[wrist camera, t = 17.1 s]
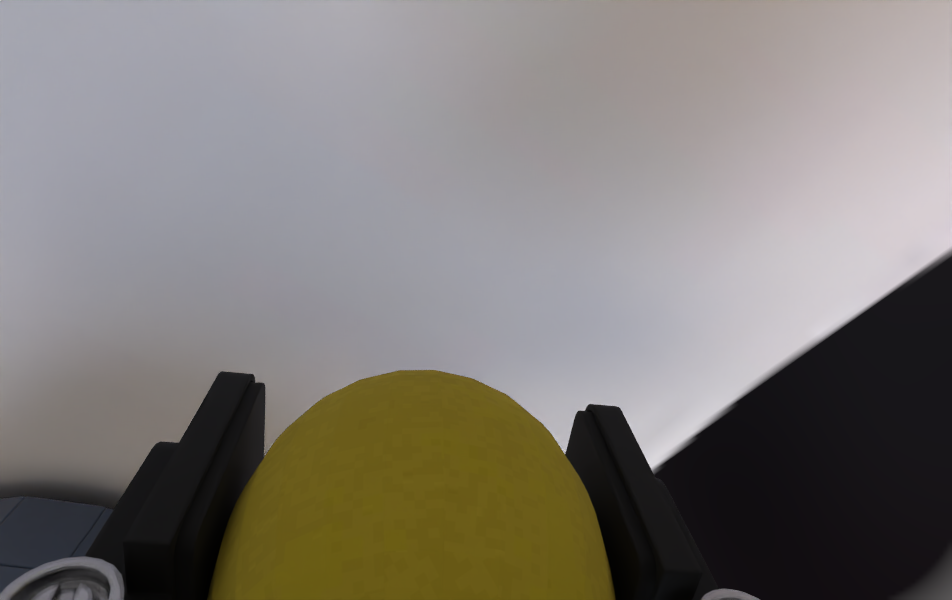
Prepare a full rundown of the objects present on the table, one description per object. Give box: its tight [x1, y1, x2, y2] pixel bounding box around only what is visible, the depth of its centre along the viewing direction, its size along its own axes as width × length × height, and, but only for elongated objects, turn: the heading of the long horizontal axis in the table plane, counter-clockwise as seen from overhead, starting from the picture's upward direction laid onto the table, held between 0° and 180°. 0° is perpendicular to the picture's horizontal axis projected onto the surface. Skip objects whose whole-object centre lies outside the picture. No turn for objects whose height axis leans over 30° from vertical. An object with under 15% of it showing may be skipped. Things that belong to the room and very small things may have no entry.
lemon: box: [207, 370, 615, 600], centre depth 9 cm, size 6×6×8 cm
